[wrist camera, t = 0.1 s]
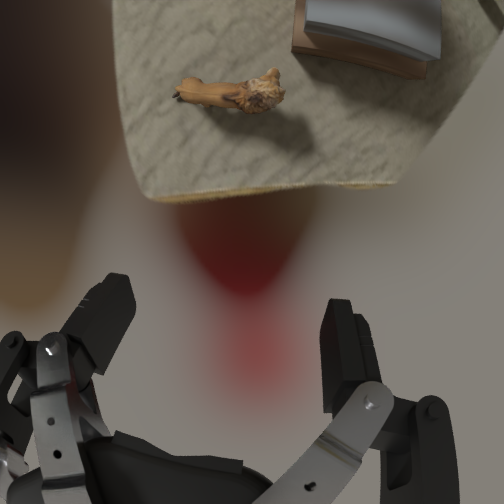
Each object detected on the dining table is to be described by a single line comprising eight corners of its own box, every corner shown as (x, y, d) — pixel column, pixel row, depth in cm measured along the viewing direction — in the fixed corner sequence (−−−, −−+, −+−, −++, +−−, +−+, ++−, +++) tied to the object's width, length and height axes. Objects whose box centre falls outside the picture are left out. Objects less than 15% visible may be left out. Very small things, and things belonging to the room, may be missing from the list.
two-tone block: (298, -33, 20) (301, -66, 11) (412, -3, 19) (446, -22, 11) (291, 52, 27) (294, 36, 19) (408, 79, 27) (446, 79, 18)
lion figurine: (285, 72, 29) (286, 65, 22) (285, 111, 32) (286, 116, 24) (173, 79, 30) (142, 78, 23) (175, 116, 33) (145, 124, 26)
